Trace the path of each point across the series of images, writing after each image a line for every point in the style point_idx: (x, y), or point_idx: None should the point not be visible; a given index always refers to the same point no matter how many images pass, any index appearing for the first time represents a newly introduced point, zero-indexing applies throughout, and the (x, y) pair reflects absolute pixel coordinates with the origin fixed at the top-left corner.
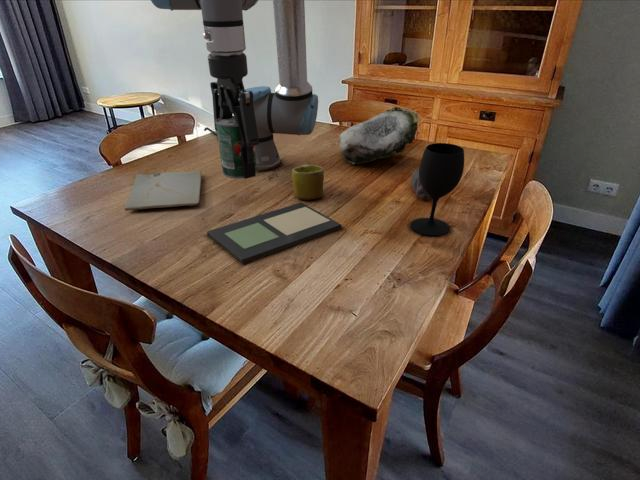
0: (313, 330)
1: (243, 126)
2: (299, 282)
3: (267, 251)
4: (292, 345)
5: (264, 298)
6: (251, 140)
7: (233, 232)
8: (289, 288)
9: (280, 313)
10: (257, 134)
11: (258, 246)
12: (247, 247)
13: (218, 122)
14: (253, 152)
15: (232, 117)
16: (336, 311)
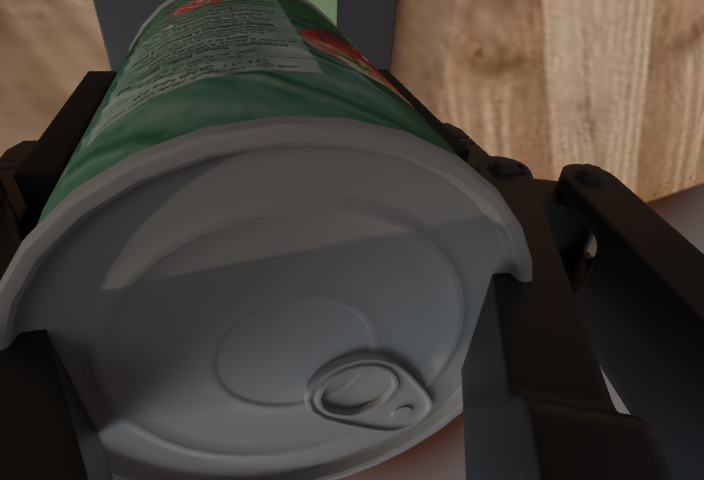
0: (671, 124)
1: (602, 362)
2: (561, 39)
3: (392, 27)
4: (653, 176)
5: (531, 150)
6: (589, 245)
7: None
8: (555, 79)
9: (589, 148)
10: (651, 213)
11: (349, 38)
12: None
13: (222, 468)
14: (487, 155)
15: (28, 323)
16: (694, 43)
